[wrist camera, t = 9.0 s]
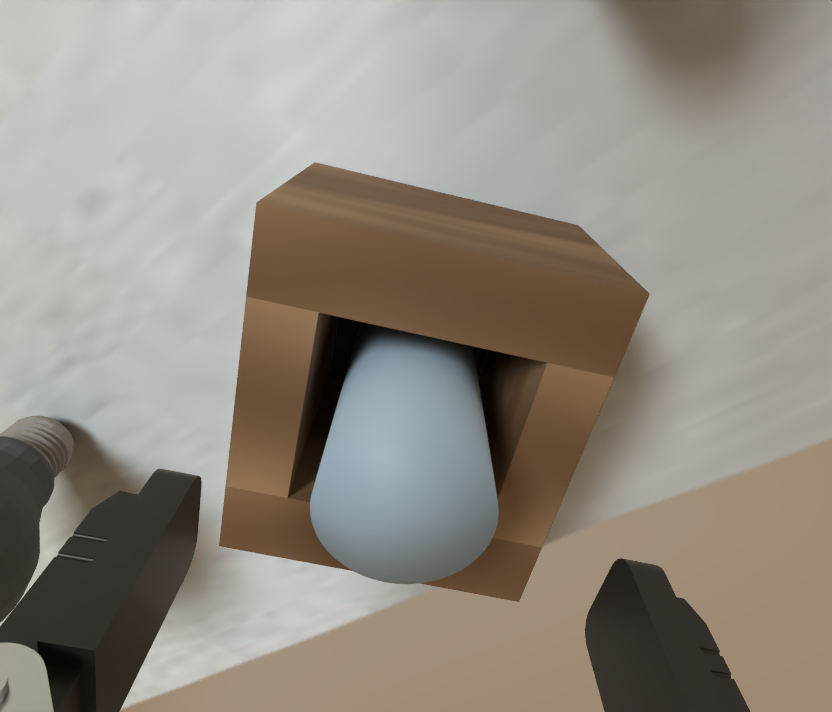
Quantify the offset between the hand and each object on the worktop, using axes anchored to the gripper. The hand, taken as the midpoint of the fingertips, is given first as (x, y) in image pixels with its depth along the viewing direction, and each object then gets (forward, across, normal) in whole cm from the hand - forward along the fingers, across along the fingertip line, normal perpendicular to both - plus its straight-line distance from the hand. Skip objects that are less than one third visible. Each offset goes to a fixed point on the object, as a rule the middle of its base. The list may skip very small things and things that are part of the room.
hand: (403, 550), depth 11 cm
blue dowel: (+11, 0, 0) cm, 11 cm away
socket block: (+11, 0, 0) cm, 11 cm away
